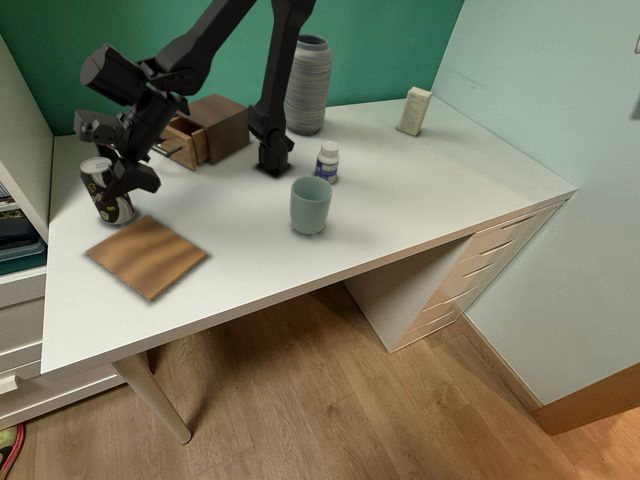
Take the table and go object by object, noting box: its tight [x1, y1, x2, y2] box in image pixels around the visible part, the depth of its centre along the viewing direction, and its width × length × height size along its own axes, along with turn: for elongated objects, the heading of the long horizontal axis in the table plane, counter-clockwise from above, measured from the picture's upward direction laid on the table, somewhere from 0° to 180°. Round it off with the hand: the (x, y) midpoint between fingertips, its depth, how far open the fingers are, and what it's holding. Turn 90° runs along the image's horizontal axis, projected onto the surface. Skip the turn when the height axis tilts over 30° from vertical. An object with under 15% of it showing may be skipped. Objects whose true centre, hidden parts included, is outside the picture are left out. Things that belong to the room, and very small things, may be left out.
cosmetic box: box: [397, 86, 433, 137], centre depth 98 cm, size 6×4×12 cm
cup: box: [289, 175, 333, 235], centre depth 64 cm, size 8×8×10 cm
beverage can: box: [79, 156, 136, 225], centre depth 59 cm, size 6×6×12 cm
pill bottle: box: [314, 140, 340, 184], centre depth 77 cm, size 5×5×9 cm
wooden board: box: [85, 214, 208, 302], centre depth 58 cm, size 16×12×1 cm
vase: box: [284, 33, 334, 135], centre depth 88 cm, size 12×12×23 cm
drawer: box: [150, 116, 209, 171], centre depth 76 cm, size 17×10×8 cm, turn 148°
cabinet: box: [172, 92, 251, 165], centre depth 81 cm, size 14×11×10 cm
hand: (99, 192), depth 58 cm, fingers closed on beverage can, 5 cm apart
